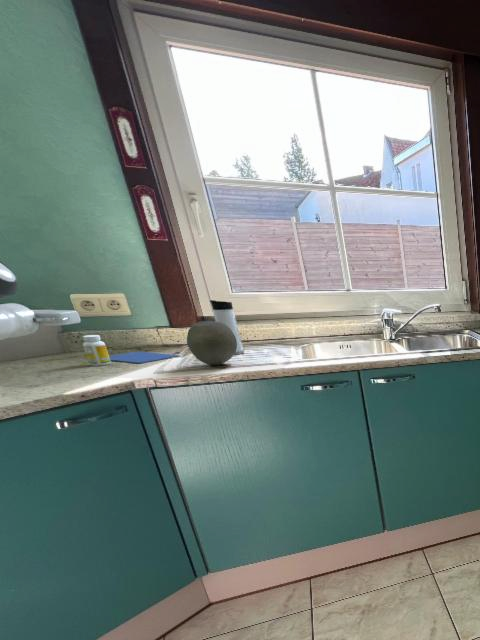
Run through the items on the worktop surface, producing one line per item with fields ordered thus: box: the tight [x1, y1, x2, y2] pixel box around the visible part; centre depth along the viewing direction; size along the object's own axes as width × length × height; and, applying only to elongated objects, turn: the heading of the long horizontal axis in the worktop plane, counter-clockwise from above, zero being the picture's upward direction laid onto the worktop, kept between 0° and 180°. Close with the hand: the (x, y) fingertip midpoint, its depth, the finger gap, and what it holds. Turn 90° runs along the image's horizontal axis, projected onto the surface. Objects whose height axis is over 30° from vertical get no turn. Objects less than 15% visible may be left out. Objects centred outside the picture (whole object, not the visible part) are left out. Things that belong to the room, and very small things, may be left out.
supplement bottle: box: [82, 334, 112, 367], centre depth 165 cm, size 5×5×10 cm
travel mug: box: [209, 299, 244, 356], centre depth 185 cm, size 6×7×20 cm
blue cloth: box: [109, 351, 181, 365], centre depth 177 cm, size 20×14×1 cm
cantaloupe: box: [186, 320, 237, 366], centre depth 168 cm, size 14×14×15 cm
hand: (52, 314), depth 149 cm, fingers open, 8 cm apart
